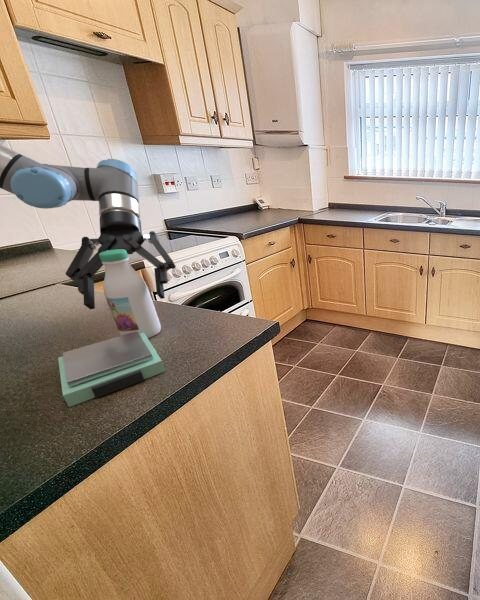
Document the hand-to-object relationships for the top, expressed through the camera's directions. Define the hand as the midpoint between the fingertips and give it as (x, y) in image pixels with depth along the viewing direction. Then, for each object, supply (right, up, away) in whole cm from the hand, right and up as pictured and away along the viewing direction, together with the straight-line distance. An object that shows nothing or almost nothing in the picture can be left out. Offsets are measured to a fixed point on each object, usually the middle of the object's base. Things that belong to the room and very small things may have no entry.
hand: (126, 301), depth 73 cm
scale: (+3, -13, -7) cm, 16 cm away
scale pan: (+3, -11, -8) cm, 14 cm away
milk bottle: (-1, -8, +6) cm, 10 cm away
